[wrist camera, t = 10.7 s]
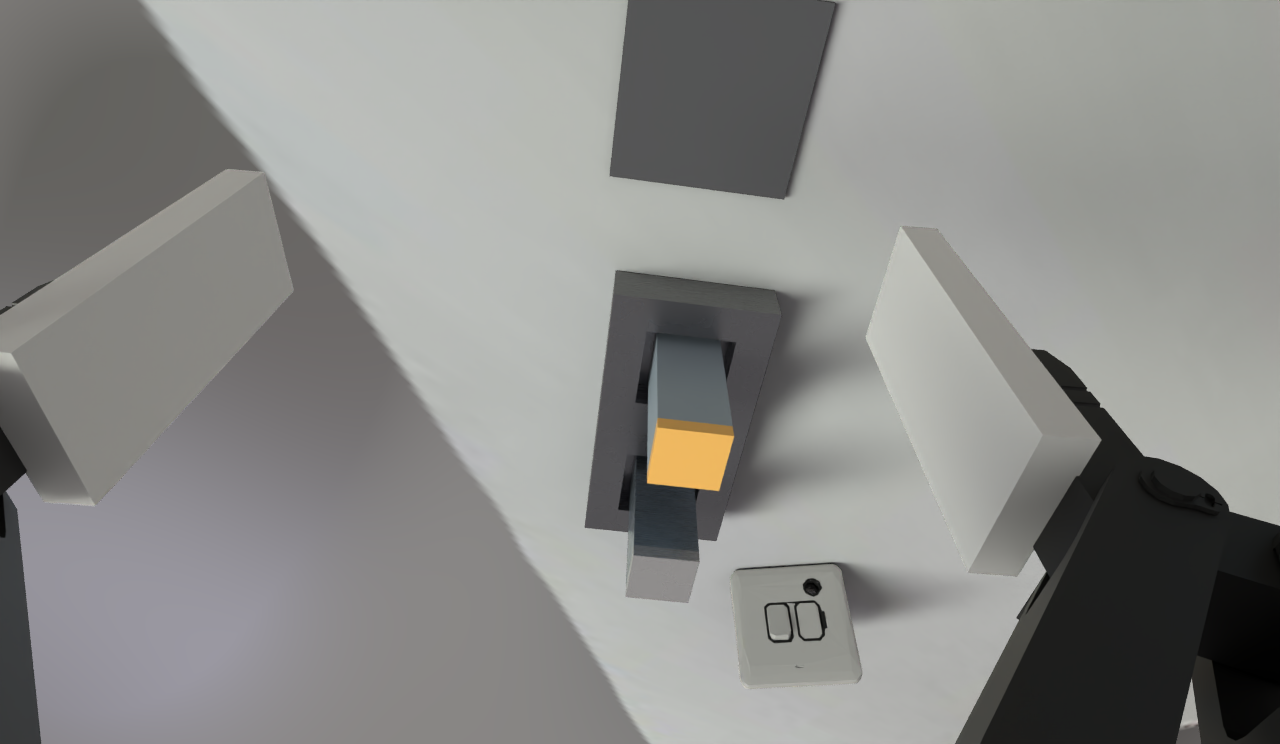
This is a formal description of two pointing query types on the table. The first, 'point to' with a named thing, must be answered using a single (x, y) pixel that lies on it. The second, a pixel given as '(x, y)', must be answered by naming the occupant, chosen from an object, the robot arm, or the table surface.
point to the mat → (717, 91)
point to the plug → (687, 413)
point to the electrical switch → (793, 627)
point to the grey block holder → (618, 480)
